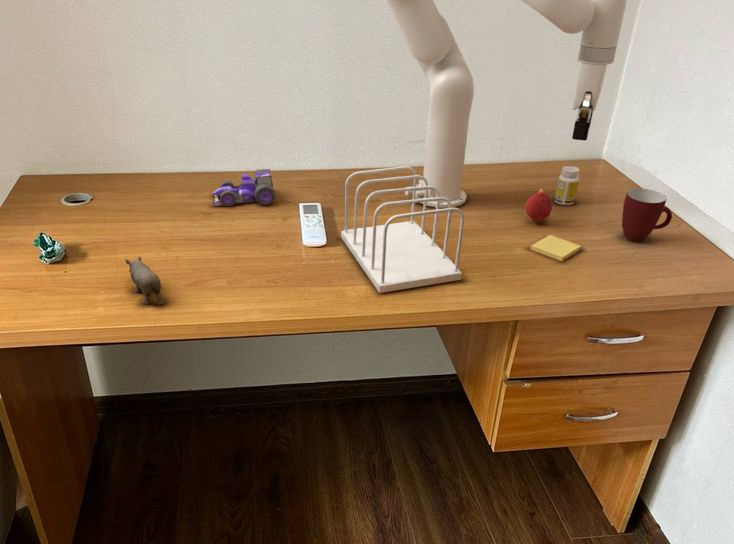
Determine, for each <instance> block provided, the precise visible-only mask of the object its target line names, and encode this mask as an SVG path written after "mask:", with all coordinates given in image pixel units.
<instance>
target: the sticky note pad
mask: <svg viewBox="0 0 734 544" xmlns="http://www.w3.org/2000/svg"><path fill="white" fill-rule="evenodd" d="M581 248H582V245H580V244H577V243H574V242H571V241H568V240H565V239H563V238H560V237H558V236H555V235H552V234H549V235H547V236H545V237H543V238H542V239H540V240H538V241H537V242H534V243H533V244H531V245H530V250H531V251H533V252H535V253H539V254H541V255H544V256H545V257H546V256H547V257H549V258H552V259H554V260H557V261H560V262H563V261H565V260H567V259H568V258H570V257H571V256H574V254H576V253H578V252H580V251H581Z"/></svg>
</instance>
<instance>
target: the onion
mask: <svg viewBox="0 0 734 544" xmlns="http://www.w3.org/2000/svg"><path fill="white" fill-rule="evenodd" d="M552 210H553V202H552V200H551V198H550V196H548V194H547V193H545V192H544V190H543V189H542V188H539V189H538V192H536V193H534V194H533V195H532V196H530V197H529V198H528V200H526V203H525V213H526V215H527V216H528V218H529V219H530V220H531V221H532V222H533V223H536V224H537V223H540V222H542V221H544V220H546V219H548V218H549V217H550V216H551V213H552Z"/></svg>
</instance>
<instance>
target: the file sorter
mask: <svg viewBox="0 0 734 544" xmlns="http://www.w3.org/2000/svg"><path fill="white" fill-rule="evenodd" d="M405 170H407V171H410V172H412V174H413V175H404V176H394V177H385V178H384V177H383V178H375V179H367V180H364V181H362V182H360V184H358V186H357V188H356V190H355V194H354V195H355V197H354V217H353V228H352V229H348V228H349V184H350V181H351V180H352V179H353V178H354V177H357V176H360V175H361V176H362V175H370V174H378V173H379V174H380V173H387V172H394V171H405ZM405 180H413V186H412V187H411V186H409V187H410V188H406V187H401V188H400V187H399V188H390V189H389V188H388V189H381V190H380V189H379V190H375V191H373V192H371V193H370V194H368V196H367V197H366V199H365V202H364V207H363V208H364V209H363V224H362V225H363V226H362V227H358V213H359V212H358V210H359V209H358V207H359V195H360V191H361V189H362V188H363V187H365V185H366V186H367V185H368V184H376V183H385V182H394V181H405ZM418 180H424V182H425V186H421V187H416V185H417V181H418ZM344 184H345V186H344V193H345V194H344V230H341V231H340V238H341V240H342V241H343V243H344V244H345V245H346V247H347V248H348V250H349V251H350V253H351V254H352V256H353V257H354V258H355V260H356V262H357V263H358V264H359V265H360V267H361V269H362V270H363V271H364V274H366V276H367V277H368V279H369V280H370V282H371V283H372V284H373V285H374V288H375V289H376V291H377V292H378V293H379V294H383V293H389V292H395V291H400V290H405V289H413V288H419V287H425V286H430V285H436V284H442V283H449V282H456V281H460V280H462V276H463V275H462V274H463V272H462V271H461V269H459V264H460V258H461V257H460V256H461V249H462V241H463V233H464V228H465V227H464V225H465V214H464V212H463V211H462V210H461V209H459V208H458V207H452V204H451V202H450V201H449V200H448V199H447V198H445V197H440V193H439V191H438V190H437V189H436V188H435V187H433V186H428V182H427V180H426V178H424V177H423V175H420V174H417V172H416V170H415V169H414V168H413V167H411V166H408V165H407V166H405V165H403V166H396V167H395V166H394V167H387V168H386V167H385V168H378V169H368V170H361V171H354V172H353V173H351V174H350V175H348V177H347V178H346V181H345V183H344ZM428 189H432V190H434V191H435V192H436V193H437V197H435V198H427V195H428ZM416 190H425V196H424V199H416V198H415V196H416ZM404 191H413V194H412V198H411V199H405V200H404V199H403V200H396V201H387V202H383V203H381V204H380V205H379V206H377V208H376V209H375V211H374V214H373V220H372V221H373V223H372V226H367V223H368V221H367V220H368V207H369V202H370V201H371V199H372V198H373V197H375V196H377V195H384V194H394V193H403V192H404ZM404 193H405V192H404ZM440 200H443V201H446V202H447V203H448V205H449V208H439V205H440ZM430 201H437V203H436V207H435V209H431V210H427V202H430ZM420 202H424V204H423V206H422V210H421V211H415V206H416V204H417V203H418V204H419V203H420ZM409 204H411V212H407V213H400V214H399V213H398V214H395V215H392V216H391V217H390V218H388V219H387V221H386V222H385V223H384V224H379V225H377V218H378V215H379V212H380V211H381V210H382V209H384V208H386V207H389V206H399V205H400V206H401V205H409ZM420 204H421V203H420ZM453 212H456V213H458V214H459V215H460V216H459V217H460V223H459V231H458V232H459V233H458V240H457V247H456V254H455V255H456V256H455V263H454V261H452V260H451V258H449V257H448V256H447V250H448V244H449V243H448V242H449V235H450V228H451V221H452V214H453ZM440 213H447V219H446V220H447V221H446V227H445V228H446V229H445V236H444V242H443V250H442V248H440V246H438V244H437V243H436V236H437V235H436V234H437V227H438V219H439V214H440ZM433 214H434V219H433V220H434V222H433V227H432V236H431V237H430V236H429V235H428V234H427V233H426V232H425V225H426V224H425V223H426V215H433ZM417 216H421V225H419V224H418V223H417V222H416V221H415V217H417ZM403 218H410V221H402V222H401V221H400V222H394V223H392V222H393V221H395V220H398V219H403Z"/></svg>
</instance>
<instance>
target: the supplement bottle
mask: <svg viewBox="0 0 734 544" xmlns="http://www.w3.org/2000/svg"><path fill="white" fill-rule="evenodd" d="M579 174H580V168H579V167H577V166H573V165H565V166H563V167H562V168H561V172H560V175H559V176H558V179H557V183H556V190H555V196H554V202H555V203H556V204H558V205H562V206H571V205H573V204H574V203H575V201H576V196H577V192H578V187H579V182H580V177H579Z"/></svg>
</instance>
